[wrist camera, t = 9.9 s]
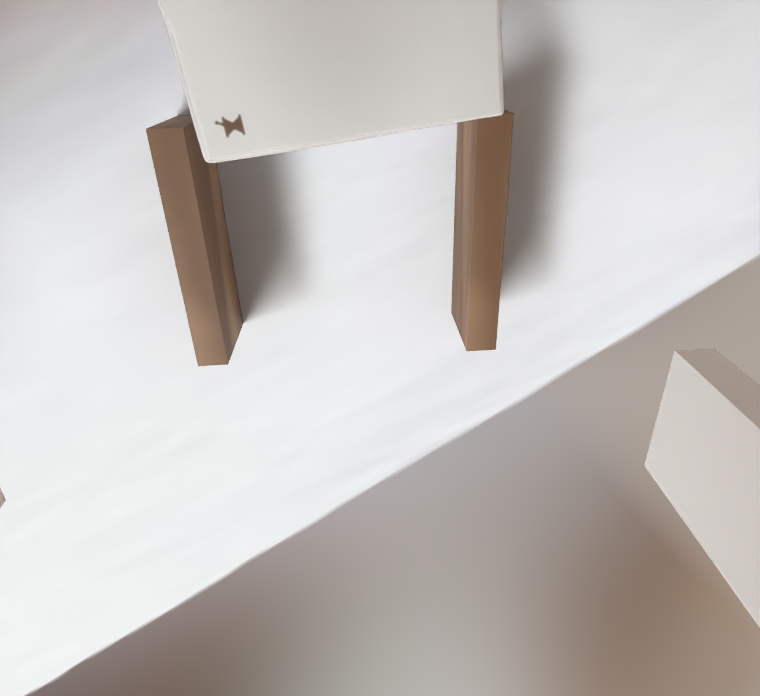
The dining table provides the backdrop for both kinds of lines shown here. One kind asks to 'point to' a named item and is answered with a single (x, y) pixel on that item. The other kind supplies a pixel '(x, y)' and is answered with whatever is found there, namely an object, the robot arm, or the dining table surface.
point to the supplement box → (331, 69)
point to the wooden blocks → (213, 255)
